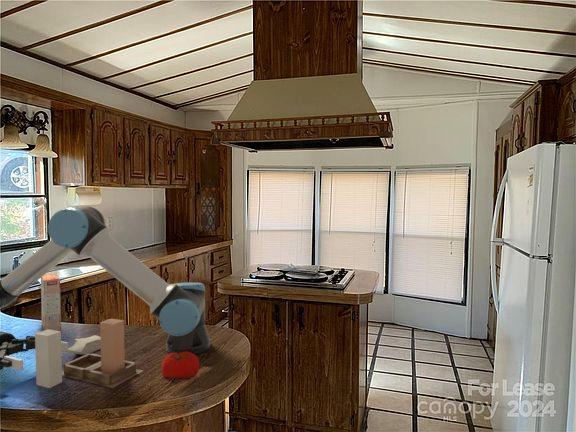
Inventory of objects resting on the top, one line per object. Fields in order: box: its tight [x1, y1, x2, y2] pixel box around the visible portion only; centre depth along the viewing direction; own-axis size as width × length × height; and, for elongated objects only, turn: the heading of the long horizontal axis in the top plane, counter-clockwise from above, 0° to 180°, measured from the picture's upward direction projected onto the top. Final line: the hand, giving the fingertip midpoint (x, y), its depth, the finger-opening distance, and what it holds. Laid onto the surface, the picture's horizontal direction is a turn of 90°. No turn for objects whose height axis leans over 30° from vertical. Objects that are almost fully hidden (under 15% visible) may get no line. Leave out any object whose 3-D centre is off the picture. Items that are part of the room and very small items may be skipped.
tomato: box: [161, 351, 200, 380], centre depth 125 cm, size 10×11×6 cm
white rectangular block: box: [34, 329, 63, 389], centre depth 116 cm, size 4×5×16 cm
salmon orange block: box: [99, 318, 126, 374], centre depth 122 cm, size 4×5×16 cm
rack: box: [62, 352, 144, 389], centre depth 124 cm, size 22×12×4 cm, turn 67°
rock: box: [67, 335, 101, 356], centre depth 145 cm, size 21×5×15 cm
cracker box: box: [40, 272, 62, 332], centre depth 167 cm, size 14×6×21 cm, turn 34°
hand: (45, 355), depth 116 cm, fingers open, 13 cm apart
